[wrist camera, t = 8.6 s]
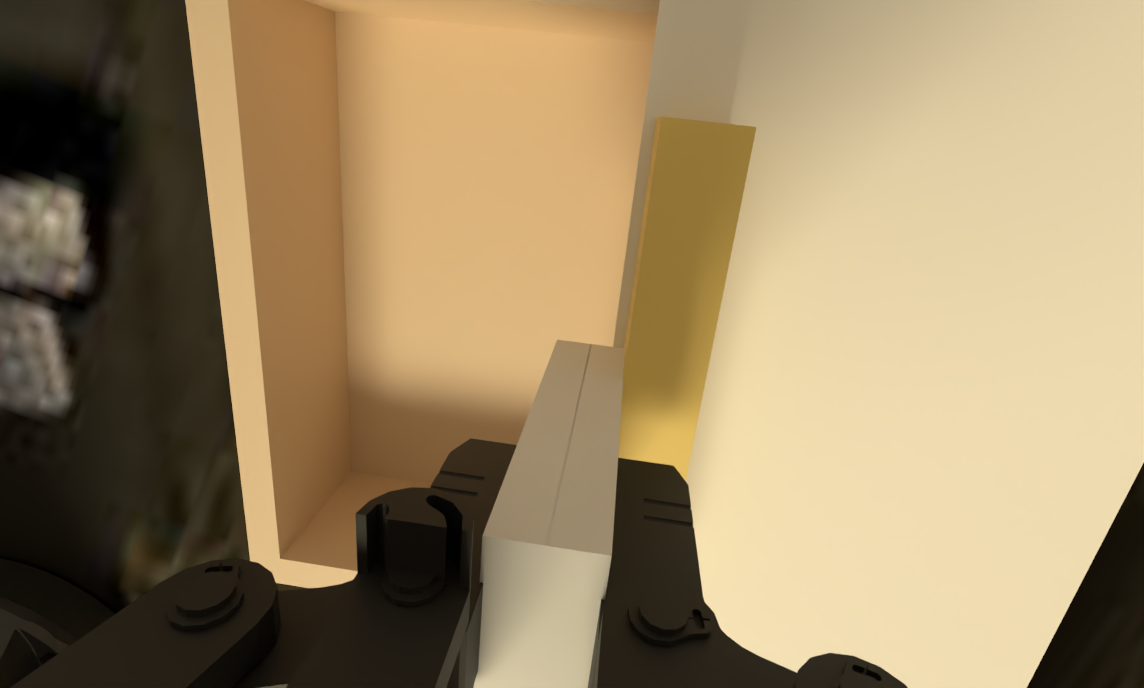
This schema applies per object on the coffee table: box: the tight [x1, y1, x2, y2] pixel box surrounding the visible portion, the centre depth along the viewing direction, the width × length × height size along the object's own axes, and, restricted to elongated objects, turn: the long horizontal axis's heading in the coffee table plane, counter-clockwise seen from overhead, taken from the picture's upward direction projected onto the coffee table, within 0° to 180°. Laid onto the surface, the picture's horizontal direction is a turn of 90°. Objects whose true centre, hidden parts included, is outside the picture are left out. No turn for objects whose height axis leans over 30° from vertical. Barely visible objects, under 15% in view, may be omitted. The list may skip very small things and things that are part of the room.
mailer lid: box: [613, 0, 1144, 688], centre depth 13 cm, size 12×18×4 cm
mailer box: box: [185, 0, 660, 588], centre depth 18 cm, size 12×18×6 cm, turn 174°
